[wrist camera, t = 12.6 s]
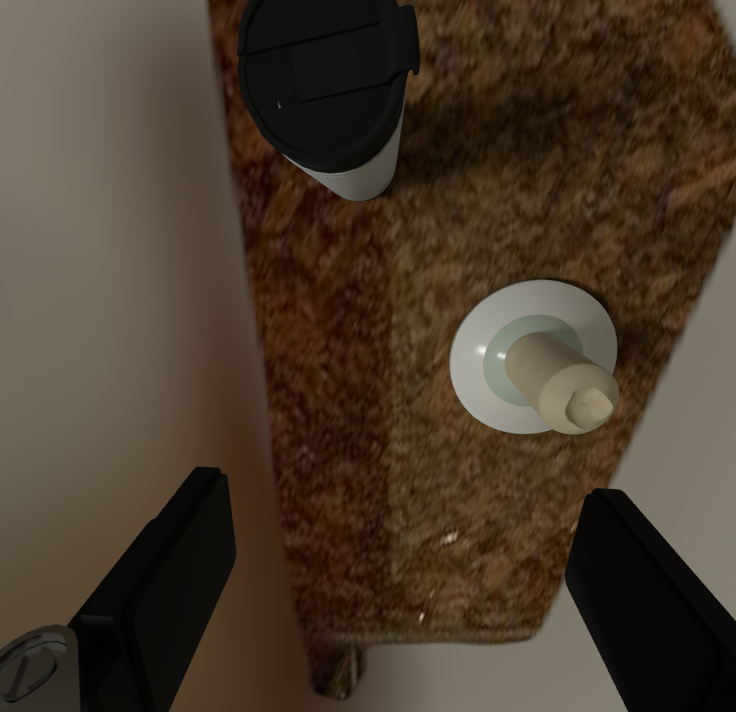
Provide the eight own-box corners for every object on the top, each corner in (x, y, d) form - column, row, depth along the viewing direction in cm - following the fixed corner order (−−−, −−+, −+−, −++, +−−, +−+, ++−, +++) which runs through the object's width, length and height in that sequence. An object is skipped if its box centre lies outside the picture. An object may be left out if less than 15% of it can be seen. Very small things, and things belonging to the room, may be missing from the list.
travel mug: (405, 194, 32) (431, 143, 13) (328, 207, 33) (248, 176, 14) (395, 110, 30) (409, -93, 11) (314, 125, 31) (198, -41, 12)
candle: (569, 333, 34) (641, 373, 25) (558, 389, 36) (621, 447, 26) (508, 330, 34) (555, 369, 25) (499, 387, 36) (540, 443, 26)
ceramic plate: (460, 273, 34) (463, 274, 33) (631, 285, 33) (638, 287, 32) (439, 422, 39) (441, 427, 38) (588, 434, 38) (593, 440, 37)
